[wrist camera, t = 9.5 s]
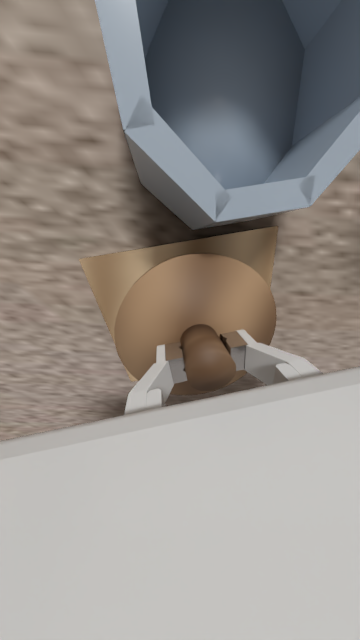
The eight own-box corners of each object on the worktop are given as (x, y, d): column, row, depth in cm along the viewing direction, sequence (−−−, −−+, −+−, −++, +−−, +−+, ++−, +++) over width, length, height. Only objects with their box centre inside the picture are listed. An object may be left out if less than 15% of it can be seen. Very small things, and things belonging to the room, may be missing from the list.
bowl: (329, -66, 6) (706, -746, 2) (287, 214, 11) (374, 196, 7) (94, -42, 6) (-79, -798, 2) (151, 236, 11) (145, 233, 6)
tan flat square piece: (274, 226, 11) (278, 225, 11) (259, 353, 17) (261, 356, 16) (81, 258, 11) (78, 259, 10) (131, 378, 16) (131, 381, 16)
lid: (277, 238, 9) (351, 235, 6) (260, 371, 14) (293, 414, 11) (90, 270, 9) (44, 289, 5) (141, 395, 14) (135, 449, 10)
